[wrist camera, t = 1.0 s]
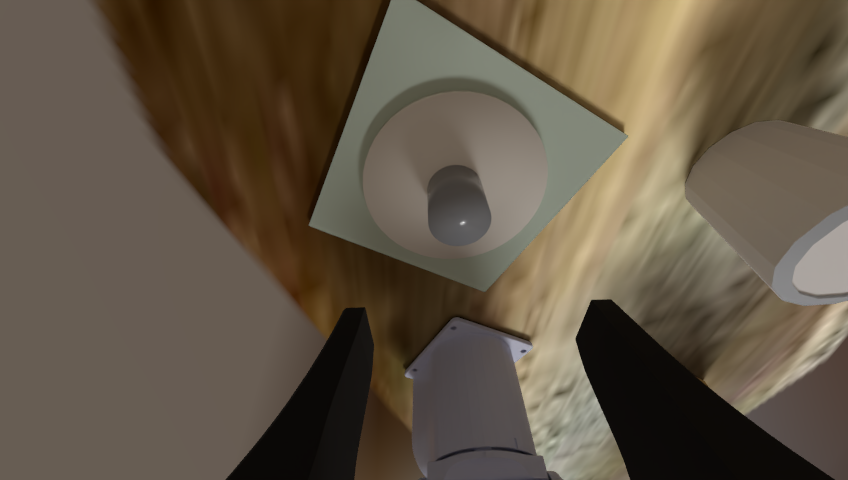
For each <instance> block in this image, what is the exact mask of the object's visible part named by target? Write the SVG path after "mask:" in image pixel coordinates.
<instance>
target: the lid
mask: <svg viewBox="0 0 848 480" xmlns="http://www.w3.org/2000/svg"><path fill="white" fill-rule="evenodd" d="M547 178H548V163H547V157H546V152H545V149H544V146H543V143H542V141H541V139H540V137H539V135H538V133H537V131H536V130H535V129H534V127H533V126H532V125H531V123H530V122H529V121H528V120H527V118H526V117H525V116H524V115H523V114H522V113H520V112H519V111H518V110H517V109H516V108H515V107H513V106H512V105H510V104H509V103H507V102H506V101H504V100H501V99H499V98H497V97H495V96H492V95H489V94H486V93H483V92H477V91H471V90H449V91H441V92H437V93H433V94H429V95H426V96H424V97H421V98H419V99H417V100H414V101H412V102H411V103H409V104H407V105H406V106H404V107H402V108H401V109H400V110H399V111H397V112H396V113H395V114H394V115H392V116H391V117H390V118H389V119H388V121H387V122H386V123H385V124H384V125H383V126H382V127H381V129H380V130H379V132H378V133H377V134H376V136H375V138H374V140H373V142H372V144H371V146H370V149H369V152H368V154H367V157H366V160H365V165H364V170H363V192H364V197H365V201H366V205H367V207H368V210H369V212H370V214H371V216H372V218H373V219H374V221H375V223H376V224H377V225H378V226H379V228H380V229H381V230H382V231H383V232H384V233H385V234H386V235H387V236H388V237H389V238H390V239H391V240H393V241H394V242H395V243H397V244H398V245H400V246H402V247H403V248H405V249H407V250H410V251H412V252H414V253H417V254H420V255H423V256H428V257H432V258H441V259H458V258H466V257H472V256H476V255H479V254H483V253H486V252H488V251H491V250H493V249H495V248H497V247H499V246H501V245H503V244H504V243H506V242H507V241H509V240H510V239H512V238H513V237H514V236H515V235H517V234H518V233H519V232H520V231H521V230H522V229H523V228H524V227H525V226H526V225H527V224H528V223H529V221H530V220H531V219H532V217H533V216H534V214H535V213H536V211H537V209H538V208H539V206H540V203H541V201H542V199H543V196H544V193H545V189H546V185H547Z"/></svg>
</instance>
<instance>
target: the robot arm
mask: <svg viewBox="0 0 848 480" xmlns="http://www.w3.org/2000/svg"><path fill="white" fill-rule="evenodd" d="M576 343H577V346H578V350H579V353H580V356H581V360H582V363H583V366H584V369H585V372H586V374H587V376H588V379H589V381H590V383H591V386H592V388H593V390H594V393H595V395H596V397H597V399H598V402H599V404H600V406H601V408H602V411H603V413H604V415H605V417H606V420H607V422H608V424H609V426H610V429H611V431H612V433H613V435H614V438H615V440H616V442H617V445H618V447H619V450H620V452H621V455H622V457H623V460H624V462H625V465H626V468H627V471H628V474H629V477H630V480H835V479H833V478H831V477H830V476H829V475H827V474H826V473H824V472H823V471H821V470H820V469H818V468H817V467H815V466H814V465H813V464H811V463H810V462H808V461H807V460H805V459H804V458H802V457H801V456H799V455H798V454H796V453H795V452H793V451H792V450H791V449H789V448H788V447H786V446H785V445H783V444H782V443H781V442H779V441H778V440H777V439H775V438H774V437H772V436H771V435H769V434H768V433H767V432H766V431H764V430H763V429H762V428H760V427H759V426H757V425H756V424H755V423H754V422H752V421H751V420H749V419H748V418H747V417H746V416H744V415H743V414H742V413H740V412H739V411H738V410H736V409H735V408H734V407H732V406H731V405H730V404H729V403H727V402H726V401H725V400H724V399H722V398H721V397H720V396H719V395H717V394H716V393H715V392H714V391H713V390H711V389H710V388H709V387H708V386H706V385H705V384H704V383H703V382H702V381H700V380H699V379H698V378H697V377H696V376H694V375H693V374H692V373H691V372H690V371H689V370H687V369H686V368H685V367H684V366H683V365H682V364H681V363H679V362H678V361H677V360H676V359H675V358H674V357H673V356H672V355H670V354H669V353H668V352H667V351H666V350H665V349H664V348H663V347H662V346H660V345H659V344H658V343H657V342H656V341H655V340H654V339H653V338H652V337H651V336H650V335H649V334H647V333H646V332H645V331H644V330H643V329H642V328H641V327H640V326H639V325H638V324H637V323H636V322H635V321H634V320H633V319H631V318H630V317H629V316H628V315H627V314H626V313H625V312H624V311H623V310H622V309H621V308H620V307H619V306H618V305H617V304H615V303H614V302H613V301H612V300H611V299H608V300H591V302H590V305H589V307H588V309H587V312H586V314H585V317H584V319H583V322H582V324H581V327H580V329H579V331H578V334H577V336H576ZM532 348H533V345H532V343H531V342H529V341H526V340H523V339H521V338H518V337H515V336H512V335H509V334H506V333H503V332H500V331H497V330H494V329H491V328H488V327H485V326H482V325H479V324H477V323H474V322H471V321H468V320H465V319H462V318H459V317H455V318H452V319H451V320H450V321H449V322H448V324H447V325H446V326H445V327H444V328H443V329H442V330H441V331H440V333H439V334H438V335H437V336H436V337H435V338H434V339H433V340H432V341H431V343H430V344H429V345H428V346H427V347H426V348H425V349H424V350H423V352H422V353H421V354H420V355H419V356H418V357H417V358H416V359H415V360H414V362H413V363H412V364H411V365H410V366H409V367H408V368H407V369H406V371H405V376H406V377H408V378H411V379H414V381H413V422H412V447H413V452H414V456H415V459H416V461H417V464H418V466H419V468H420V470H421V472H422V473H423V474H424V475H425V477H426V478H420V479H418V480H563V479H562V478H561V477H560V476H559V475H558V474H557V473H556V472H554V471H547V470H546V467H545V463H544V459H543V456H537V454H536V450H535V446H534V442H533V438H532V434H531V430H530V426H529V422H528V417H527V413H526V409H525V405H524V401H523V397H522V393H521V389H520V385H519V381H518V376H517V372H516V368H515V364H514V363H515V362H517V361H518V360H519V359H520V358H522V357H523V356H524V355H525V354H527V353H528V352H529V351H530V350H531V349H532ZM373 352H374V343H373V339H372V335H371V330H370V326H369V322H368V318H367V314H366V310H365V307H364V308H346V309H345V310H344V311H343V312H342V314H341V316H340V318H339V320H338V322H337V324H336V326H335V328H334V330H333V331H332V333H331V335H330V337H329V338H328V340H327V342H326V344H325V345H324V347H323V349H322V350H321V352H320V354H319V355H318V357H317V359H316V360H315V362H314V363H313V365H312V367H311V368H310V370H309V371H308V373H307V375H306V376H305V378H304V379H303V380H302V382H301V384H300V385H299V386H298V388H297V389H296V391H295V392H294V394H293V395H292V397H291V398H290V400H289V401H288V403H287V404H286V405H285V407H284V408H283V409H282V411H281V412H280V413H279V415H278V416H277V417H276V419H275V420H274V421H273V423H272V424H271V426H270V427H269V428H268V429H267V430H266V432H265V433H264V434H263V436H262V437H261V438H260V439H259V441H258V442H257V443H256V444H255V446H254V447H253V448H252V449H251V450H250V451H249V453H248V454H247V455H246V456H245V457H244V459H243V460H242V461H241V462H240V464H239V465H238V466H237V467H236V468H235V469H234V471H233V472H232V473H231V474H230V475H229V476H228V478H227V479H226V480H354V476H355V467H356V460H357V453H358V447H359V441H360V436H361V430H362V425H363V420H364V414H365V409H366V404H367V398H368V392H369V388H370V382H371V376H372V365H373Z"/></svg>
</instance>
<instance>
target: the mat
mask: <svg viewBox="0 0 848 480" xmlns="http://www.w3.org/2000/svg"><path fill="white" fill-rule="evenodd" d="M449 90H471V91H477V92H483V93H486V94H489V95H492V96H495V97H497V98H499V99H501V100H504V101H506V102H507V103H509V104H510V105H512V106H513V107H515V108H516V109H517V110H518V111H519V112H520V113H522V114H523V115H524V116H525V117H526V118H527V120H528V121H529V122H530V123H531V125H532V126H533V127H534V129H535V130H536V131H537V133H538V135H539V137H540V139H541V141H542V143H543V146H544V149H545V152H546V157H547V163H548V178H547V185H546V189H545V193H544V196H543V199H542V201H541V203H540V206H539V208H538V209H537V211H536V213H535V214H534V216H533V217H532V219H531V220H530V221H529V223H528V224H527V225H526V226H525V227H524V228H523V229H522V230H521V231H520V232H519V233H518V234H517V235H515V236H514V237H513V238H512V239H510V240H509V241H507V242H506V243H504V244H503V245H501V246H499V247H497V248H495V249H493V250H491V251H488V252H486V253H483V254H479V255H476V256H472V257H466V258H458V259H441V258H432V257H428V256H423V255H420V254H417V253H414V252H412V251H410V250H407V249H405V248H403V247H402V246H400V245H398V244H397V243H395V242H394V241H393V240H391V239H390V238H389V237H388V236H387V235H386V234H385V233H384V232H383V231H382V230H381V229H380V228H379V226H378V225H377V224H376V223H375V221H374V219H373V218H372V216H371V214H370V212H369V210H368V207H367V205H366V201H365V197H364V192H363V170H364V165H365V160H366V157H367V154H368V152H369V149H370V146H371V144H372V142H373V140H374V138H375V136H376V134H377V133H378V132H379V130H380V129H381V127H382V126H383V125H384V124H385V123H386V122H387V121H388V119H389V118H390V117H391V116H392V115H394V114H395V113H396V112H397V111H399V110H400V109H401V108H402V107H404V106H406V105H407V104H409V103H411V102H412V101H414V100H417V99H419V98H421V97H424V96H426V95H429V94H433V93H437V92H441V91H449ZM627 137H628V136H627V135H626V134H625V133H623V132H621V131H620V130H618V129H617V128H615V127H614V126H612V125H610V124H609V123H607V122H606V121H604V120H603V119H601V118H600V117H598V116H596V115H595V114H593V113H592V112H590V111H589V110H587V109H586V108H584V107H582V106H581V105H579V104H578V103H576V102H575V101H573V100H571V99H570V98H568V97H567V96H565V95H564V94H562V93H561V92H559V91H557V90H556V89H554V88H553V87H551V86H550V85H548V84H546V83H545V82H543V81H542V80H540V79H539V78H537V77H536V76H534V75H532V74H531V73H529V72H528V71H526V70H525V69H523V68H522V67H520V66H518V65H517V64H515V63H514V62H512V61H511V60H509V59H507V58H506V57H504V56H503V55H501V54H500V53H498V52H497V51H495V50H493V49H492V48H490V47H489V46H487V45H486V44H484V43H483V42H481V41H479V40H478V39H476V38H475V37H473V36H472V35H470V34H468V33H467V32H465V31H464V30H462V29H461V28H459V27H458V26H456V25H454V24H453V23H451V22H450V21H448V20H447V19H445V18H444V17H442V16H440V15H439V14H437V13H436V12H434V11H433V10H431V9H429V8H428V7H426V6H425V5H423V4H422V3H420V2H419V1H417V0H391V2H390V5H389V7H388V10H387V13H386V16H385V18H384V21H383V24H382V27H381V29H380V32H379V35H378V37H377V40H376V43H375V46H374V48H373V51H372V54H371V57H370V59H369V62H368V65H367V68H366V70H365V73H364V76H363V78H362V81H361V84H360V87H359V89H358V92H357V95H356V98H355V100H354V103H353V106H352V109H351V111H350V114H349V117H348V119H347V122H346V125H345V128H344V130H343V133H342V136H341V139H340V141H339V144H338V147H337V150H336V152H335V155H334V158H333V160H332V163H331V166H330V169H329V171H328V174H327V177H326V180H325V182H324V185H323V188H322V191H321V193H320V196H319V199H318V202H317V204H316V207H315V210H314V212H313V215H312V218H311V221H310V223H309V226H311V227H313V228H316V229H319V230H321V231H324V232H327V233H329V234H332V235H335V236H337V237H340V238H342V239H345V240H348V241H350V242H353V243H356V244H358V245H361V246H364V247H366V248H369V249H372V250H374V251H377V252H380V253H382V254H385V255H388V256H390V257H393V258H395V259H398V260H401V261H403V262H406V263H409V264H411V265H414V266H417V267H419V268H422V269H425V270H427V271H430V272H433V273H435V274H438V275H441V276H443V277H446V278H449V279H451V280H454V281H456V282H459V283H462V284H464V285H467V286H470V287H472V288H475V289H478V290H480V291H483V292H486V290H487V289H488V288H489V287H490V286H491V285H492V284H493V283H494V282H495V281H496V280H497V279H498V277H499V276H500V275H501V274H502V273H503V272H504V271H505V270H506V269H507V268H508V267H509V265H510V264H511V263H512V262H513V261H514V260H515V259H516V258H517V257H518V256H519V255H520V254H521V252H522V251H523V250H524V249H525V248H526V247H527V246H528V245H529V244H530V243H531V242H532V240H533V239H534V238H535V237H536V236H537V235H538V234H539V233H540V232H541V231H542V230H543V229H544V227H545V226H546V225H547V224H548V223H549V222H550V221H551V220H552V219H553V218H554V217H555V216H556V214H557V213H558V212H559V211H560V210H561V209H562V208H563V207H564V206H565V205H566V204H567V202H568V201H569V200H570V199H571V198H572V197H573V196H574V195H575V194H576V193H577V192H578V191H579V189H580V188H581V187H582V186H583V185H584V184H585V183H586V182H587V181H588V180H589V179H590V177H591V176H592V175H593V174H594V173H595V172H596V171H597V170H598V169H599V168H600V167H601V166H602V164H603V163H604V162H605V161H606V160H607V159H608V158H609V157H610V156H611V155H612V154H613V153H614V151H615V150H616V149H617V148H618V147H619V146H620V145H621V144H622V143H623V142H624V141H625V139H626V138H627Z"/></svg>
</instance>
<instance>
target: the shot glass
mask: <svg viewBox="0 0 848 480" xmlns="http://www.w3.org/2000/svg"><path fill="white" fill-rule="evenodd" d="M685 192H686V199H687V200H688V202H689V203H690V204H691V205H692V206H693V207H694V209H695V210H696V211H697V212H698V213H699V214H700V215H701V216H702V217H703V218H704V219H705V220H706V221H707V222H708V223H709V224H710V225H711V226H712V227H713V228H714V230H715V231H716V232H717V233H718V234H719V235H720V236H721V237H722V238H723V239H724V240H725V241H726V242H727V243H728V244H729V245H730V246H731V247H732V248H733V249H734V250H735V252H736V253H737V254H738V255H739V256H740V257H741V258H742V259H743V260H744V261H745V262H746V263H747V264H748V265H749V266H750V267H751V268H752V269H753V270H754V271H755V272H756V273H757V275H758V276H759V277H760V278H761V279H762V280H763V281H764V282H765V283H766V284H767V285H768V286H769V287H770V288H771V289H772V290H773V291H774V292H775V293H776V294H777V295H778V297H779V298H780V299H781V300H783V301H787V302H791V303H795V304H799V305H803V306H807V305H822V304H836V303H840V302H844V301H848V137H846V136H842V135H838V134H834V133H830V132H826V131H822V130H818V129H814V128H810V127H806V126H802V125H798V124H794V123H790V122H786V121H782V120H771V121H761V122H755V123H752V124H750V125H747V126H745V127H743V128H740V129H738V130H735V131H733V132H731V133H729V134H728V135H726V136H725V137H724V138H722V139H721V140H719V141H718V142H717V143H715V144H714V145H712V146H711V147H710V148H708V150H707V151H706V152H705V153H704V154H703V155H702V156H701V158H700V159H699V160H698V161H697V162H696V163H695V164H694V166H693V167H692V169H691V172H690V174H689V176H688V178H687V181H686V183H685Z"/></svg>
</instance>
